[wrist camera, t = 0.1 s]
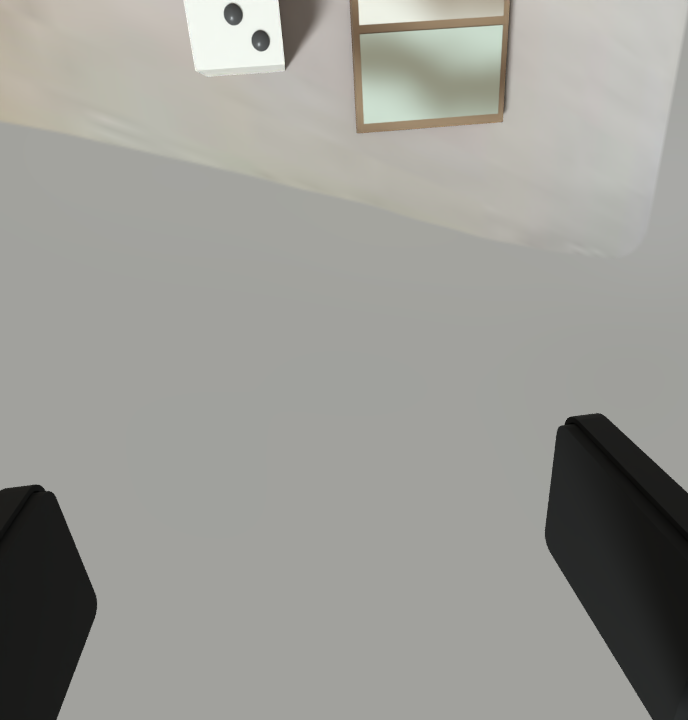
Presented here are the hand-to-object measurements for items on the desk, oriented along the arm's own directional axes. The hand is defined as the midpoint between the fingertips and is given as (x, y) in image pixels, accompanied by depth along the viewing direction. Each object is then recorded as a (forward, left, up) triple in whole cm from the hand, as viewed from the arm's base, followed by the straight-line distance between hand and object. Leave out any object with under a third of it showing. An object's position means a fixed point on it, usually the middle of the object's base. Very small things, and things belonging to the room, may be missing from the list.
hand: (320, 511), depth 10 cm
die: (-12, -2, -31) cm, 33 cm away
